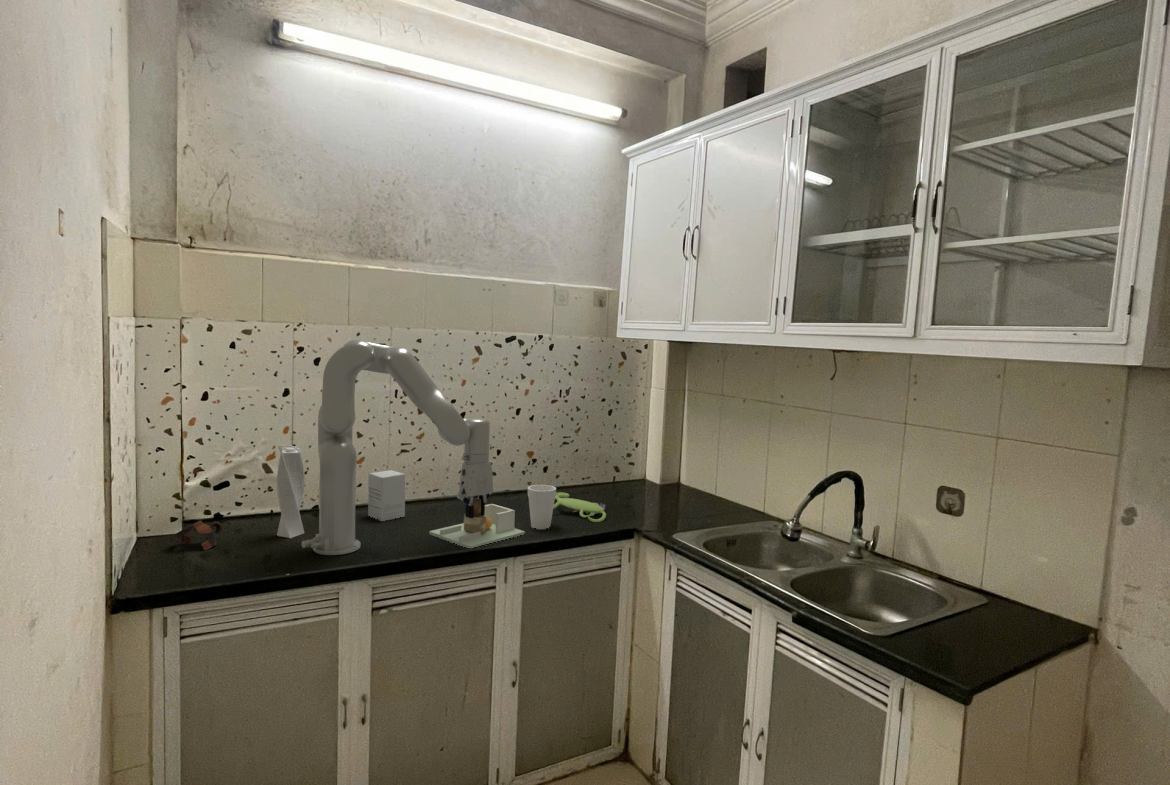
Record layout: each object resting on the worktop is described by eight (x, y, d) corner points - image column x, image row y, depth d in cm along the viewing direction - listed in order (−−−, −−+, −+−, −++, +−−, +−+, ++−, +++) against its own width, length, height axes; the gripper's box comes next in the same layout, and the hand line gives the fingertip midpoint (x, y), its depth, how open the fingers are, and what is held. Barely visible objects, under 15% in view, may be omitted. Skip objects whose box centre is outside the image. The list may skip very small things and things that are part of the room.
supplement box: (391, 511, 221) (391, 469, 220) (405, 517, 215) (406, 473, 214) (367, 516, 214) (367, 472, 213) (381, 522, 209) (382, 477, 207)
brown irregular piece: (197, 556, 172) (180, 530, 171) (180, 564, 177) (164, 539, 176) (235, 534, 182) (220, 509, 182) (219, 542, 187) (204, 518, 186)
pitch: (469, 549, 184) (470, 526, 184) (429, 534, 197) (429, 512, 197) (524, 534, 201) (525, 512, 200) (484, 521, 214) (484, 500, 213)
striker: (477, 534, 194) (478, 502, 193) (462, 529, 199) (463, 498, 198) (486, 532, 197) (487, 500, 196) (472, 527, 202) (472, 496, 201)
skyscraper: (289, 540, 186) (289, 446, 184) (270, 536, 189) (270, 443, 187) (309, 533, 194) (310, 442, 192) (290, 529, 196) (291, 440, 194)
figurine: (550, 503, 243) (550, 488, 242) (616, 511, 234) (617, 496, 233) (530, 514, 225) (530, 499, 225) (601, 524, 216) (601, 508, 216)
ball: (486, 518, 198) (495, 518, 201) (478, 515, 201) (487, 515, 204) (483, 530, 198) (493, 531, 201) (475, 527, 201) (485, 528, 204)
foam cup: (542, 520, 217) (543, 483, 216) (560, 527, 210) (561, 488, 209) (520, 525, 210) (521, 487, 209) (538, 532, 204) (540, 492, 203)
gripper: (462, 463, 187) (460, 523, 189) (504, 457, 200) (503, 514, 201) (447, 459, 192) (445, 518, 194) (489, 453, 205) (487, 509, 206)
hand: (475, 515), depth 198 cm, fingers closed on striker, 3 cm apart
